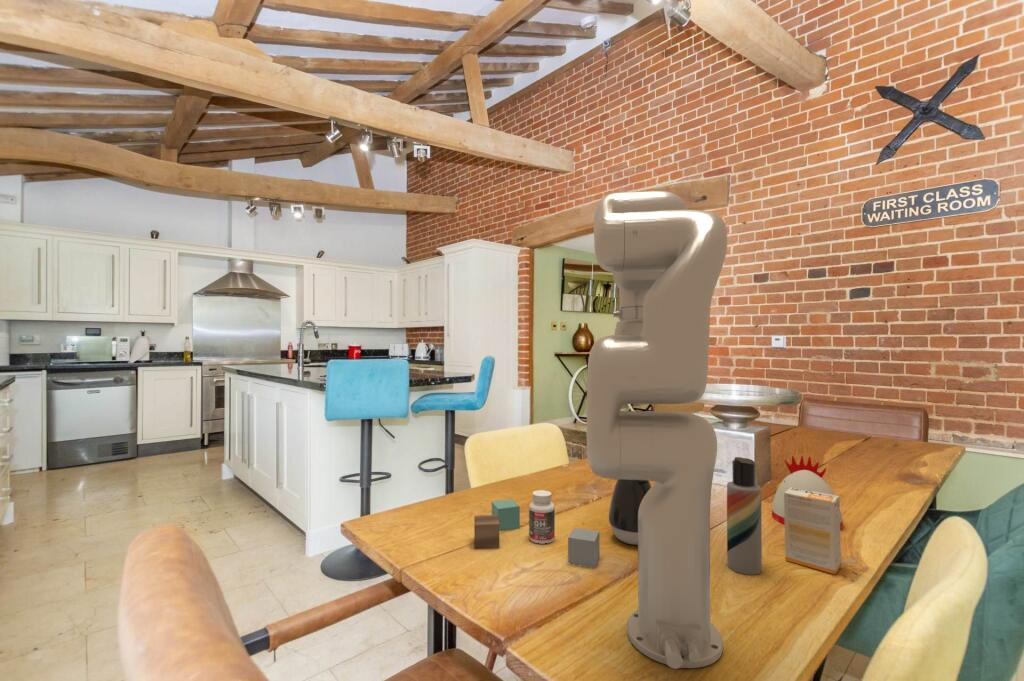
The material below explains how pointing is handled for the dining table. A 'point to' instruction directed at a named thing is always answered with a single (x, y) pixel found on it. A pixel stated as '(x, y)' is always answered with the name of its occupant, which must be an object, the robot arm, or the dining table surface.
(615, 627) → the dining table surface
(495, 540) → the walnut block
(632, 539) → the pump dispenser
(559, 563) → the dining table surface
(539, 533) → the pill bottle
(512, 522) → the teal block
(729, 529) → the lotion bottle
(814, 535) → the supplement box
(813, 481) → the kitchen timer
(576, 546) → the slate-grey block
